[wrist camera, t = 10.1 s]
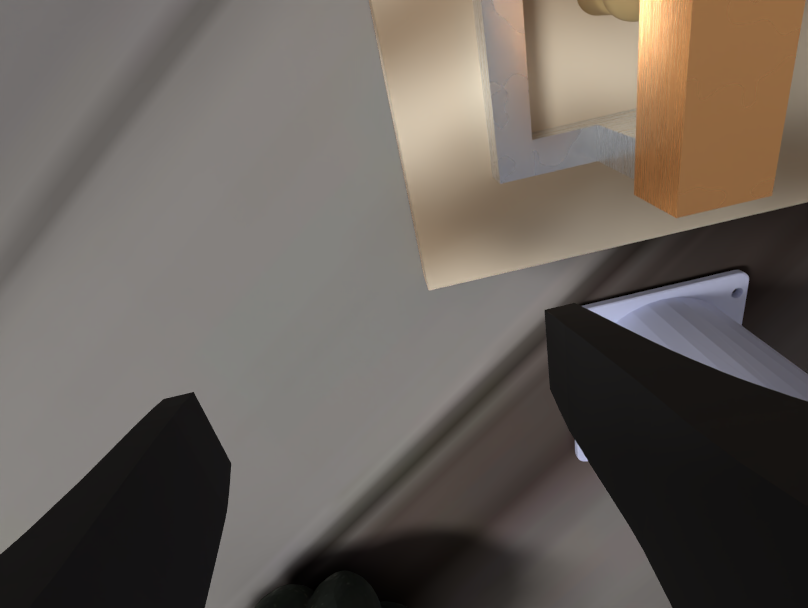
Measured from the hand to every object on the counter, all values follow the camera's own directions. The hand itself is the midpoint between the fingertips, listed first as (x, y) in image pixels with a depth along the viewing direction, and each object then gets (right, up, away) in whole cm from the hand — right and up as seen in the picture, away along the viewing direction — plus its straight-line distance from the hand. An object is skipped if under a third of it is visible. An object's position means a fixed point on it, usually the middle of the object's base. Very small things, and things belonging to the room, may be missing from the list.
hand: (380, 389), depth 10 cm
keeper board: (+7, +12, +6) cm, 16 cm away
